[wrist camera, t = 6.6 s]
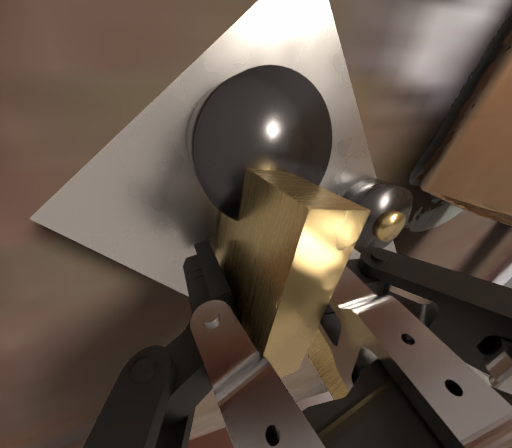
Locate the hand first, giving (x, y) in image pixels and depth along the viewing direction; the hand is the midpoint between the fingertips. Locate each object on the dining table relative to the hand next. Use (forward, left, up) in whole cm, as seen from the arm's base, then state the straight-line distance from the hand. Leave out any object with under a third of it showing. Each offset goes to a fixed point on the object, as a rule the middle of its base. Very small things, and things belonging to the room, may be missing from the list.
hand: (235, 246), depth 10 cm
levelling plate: (-3, +6, -3) cm, 7 cm away
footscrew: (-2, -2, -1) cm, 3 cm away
